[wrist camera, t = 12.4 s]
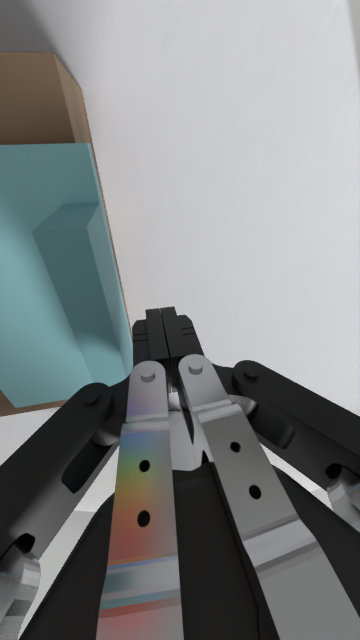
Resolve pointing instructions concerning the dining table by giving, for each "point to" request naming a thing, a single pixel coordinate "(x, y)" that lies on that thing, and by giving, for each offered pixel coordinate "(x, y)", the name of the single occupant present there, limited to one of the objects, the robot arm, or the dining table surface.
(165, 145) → the dining table surface
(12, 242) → the sliding lid
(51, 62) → the wooden box
